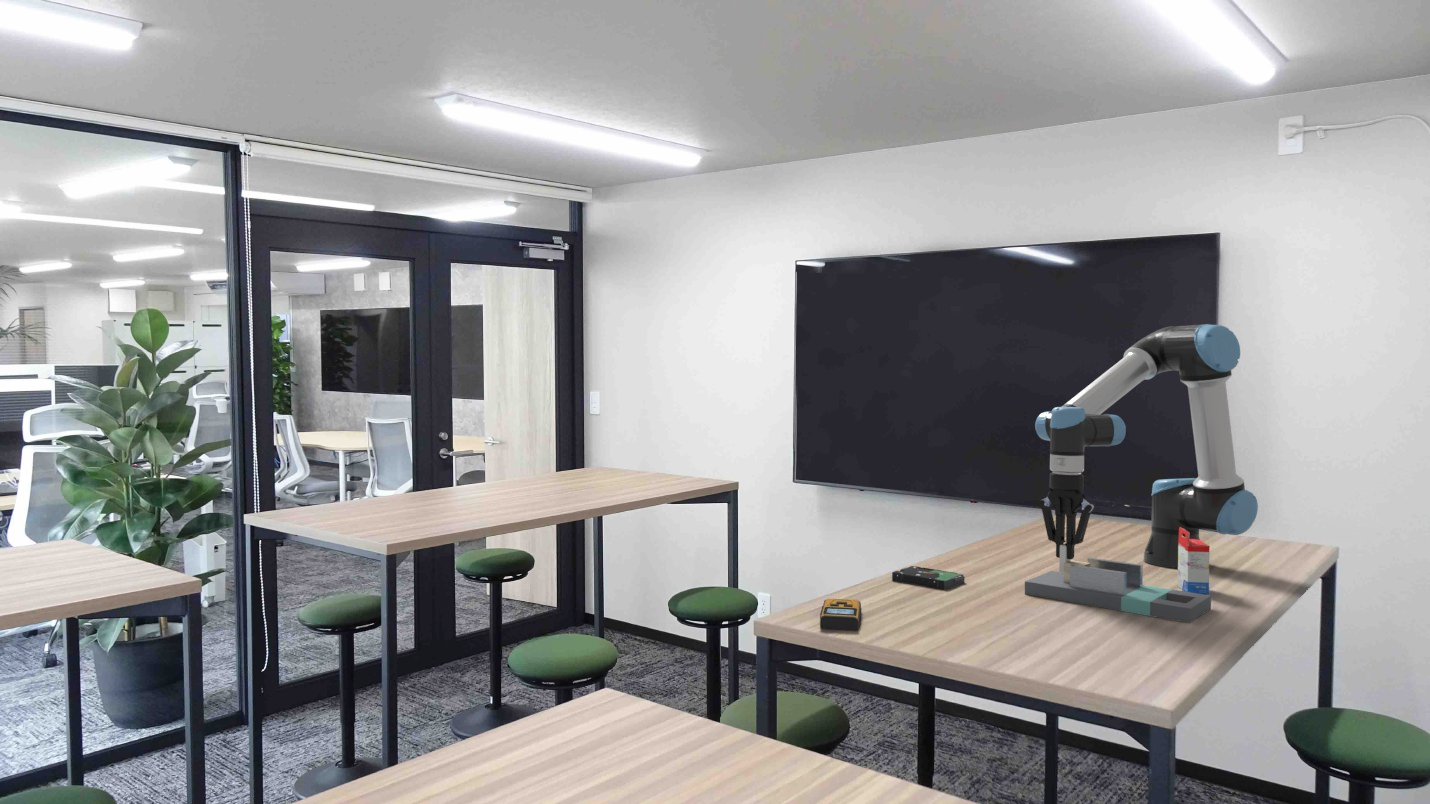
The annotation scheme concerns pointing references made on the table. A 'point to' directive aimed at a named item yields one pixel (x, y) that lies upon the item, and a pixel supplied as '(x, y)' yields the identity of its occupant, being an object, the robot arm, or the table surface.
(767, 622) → the table surface
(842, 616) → the electronic device
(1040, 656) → the table surface
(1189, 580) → the ink box
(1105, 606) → the tunnel deck
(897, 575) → the disk drive
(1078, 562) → the brass block
